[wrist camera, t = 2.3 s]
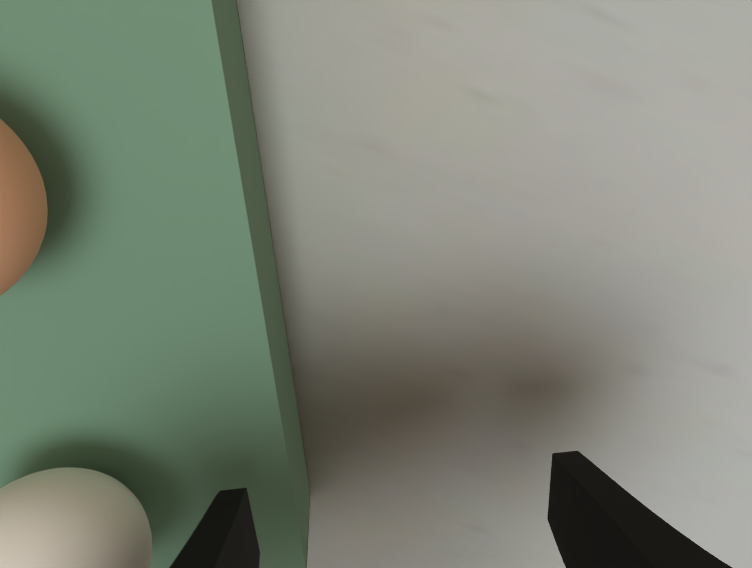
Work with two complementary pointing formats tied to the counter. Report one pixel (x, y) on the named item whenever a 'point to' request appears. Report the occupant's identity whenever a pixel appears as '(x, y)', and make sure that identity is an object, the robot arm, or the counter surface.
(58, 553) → the ivory ball
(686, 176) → the counter surface
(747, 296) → the counter surface
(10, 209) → the terracotta ball
